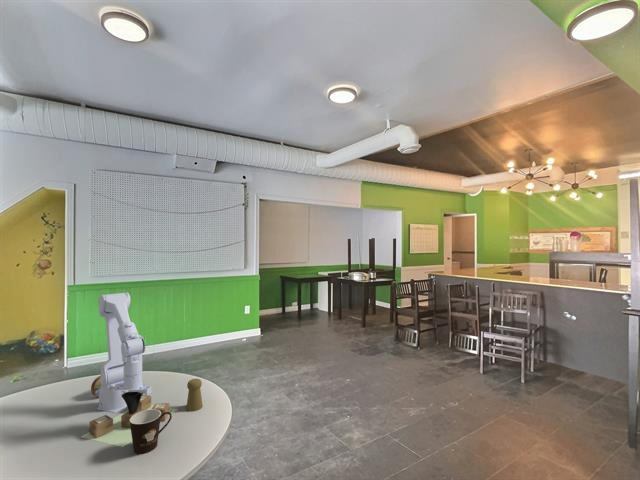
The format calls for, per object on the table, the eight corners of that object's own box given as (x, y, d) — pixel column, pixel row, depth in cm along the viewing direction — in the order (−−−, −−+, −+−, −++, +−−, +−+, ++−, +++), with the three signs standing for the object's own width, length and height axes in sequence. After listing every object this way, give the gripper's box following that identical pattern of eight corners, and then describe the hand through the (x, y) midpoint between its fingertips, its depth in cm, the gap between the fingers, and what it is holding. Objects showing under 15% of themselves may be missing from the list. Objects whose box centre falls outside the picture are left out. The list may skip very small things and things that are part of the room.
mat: (80, 438, 106) (80, 436, 106) (141, 403, 129) (141, 402, 129) (122, 448, 101) (122, 447, 101) (178, 410, 124) (178, 409, 124)
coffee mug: (127, 461, 95) (127, 426, 95) (131, 444, 103) (131, 412, 103) (171, 450, 100) (171, 418, 100) (171, 435, 108) (171, 405, 108)
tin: (94, 400, 132) (94, 379, 132) (89, 399, 133) (89, 378, 133) (129, 385, 145) (129, 367, 145) (125, 384, 147) (125, 365, 147)
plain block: (121, 427, 112) (121, 415, 112) (131, 419, 117) (131, 408, 117) (134, 428, 111) (134, 416, 111) (144, 420, 116) (144, 409, 116)
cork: (197, 413, 121) (197, 383, 122) (182, 411, 123) (182, 382, 123) (205, 405, 127) (205, 377, 128) (192, 403, 129) (192, 376, 129)
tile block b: (149, 422, 115) (149, 410, 115) (155, 414, 120) (155, 403, 120) (164, 421, 115) (164, 409, 116) (169, 413, 120) (169, 402, 120)
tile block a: (89, 433, 108) (89, 420, 108) (105, 426, 112) (105, 414, 112) (96, 438, 105) (96, 425, 105) (113, 430, 110) (113, 418, 110)
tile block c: (130, 411, 122) (130, 400, 122) (140, 405, 127) (140, 394, 127) (141, 412, 121) (141, 401, 121) (151, 406, 126) (151, 395, 126)
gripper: (106, 375, 112) (106, 414, 112) (139, 380, 108) (139, 421, 108) (124, 367, 119) (124, 405, 119) (156, 372, 115) (156, 410, 114)
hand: (133, 412), depth 114 cm, fingers closed
